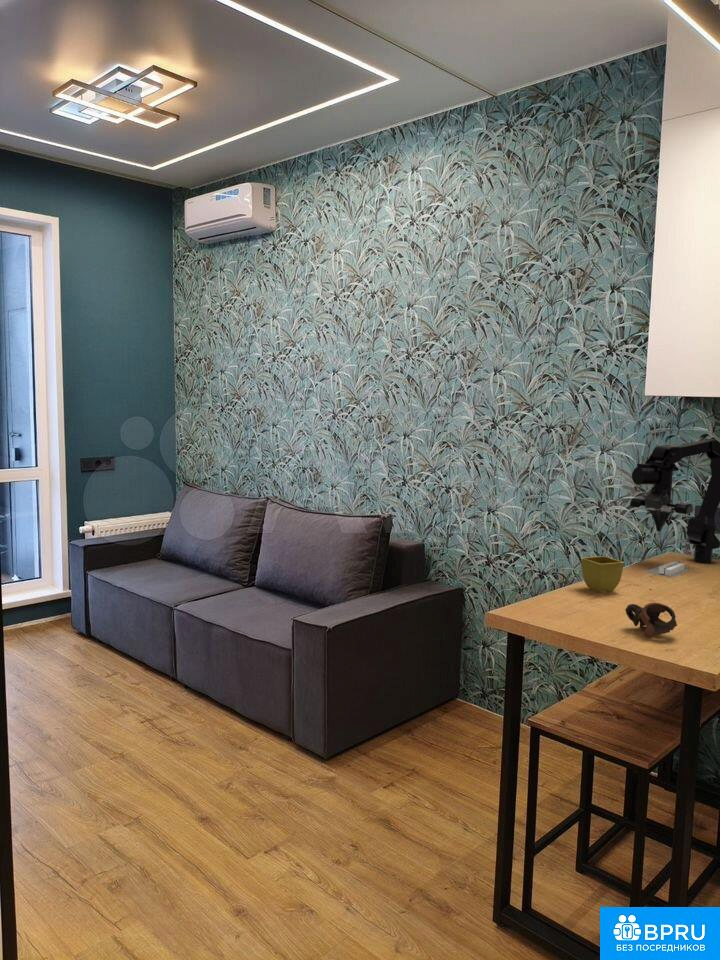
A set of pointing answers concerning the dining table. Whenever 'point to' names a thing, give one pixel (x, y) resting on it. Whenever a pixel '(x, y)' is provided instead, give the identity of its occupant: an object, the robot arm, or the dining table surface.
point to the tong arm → (667, 566)
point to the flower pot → (601, 573)
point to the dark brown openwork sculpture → (651, 618)
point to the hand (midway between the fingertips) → (658, 531)
